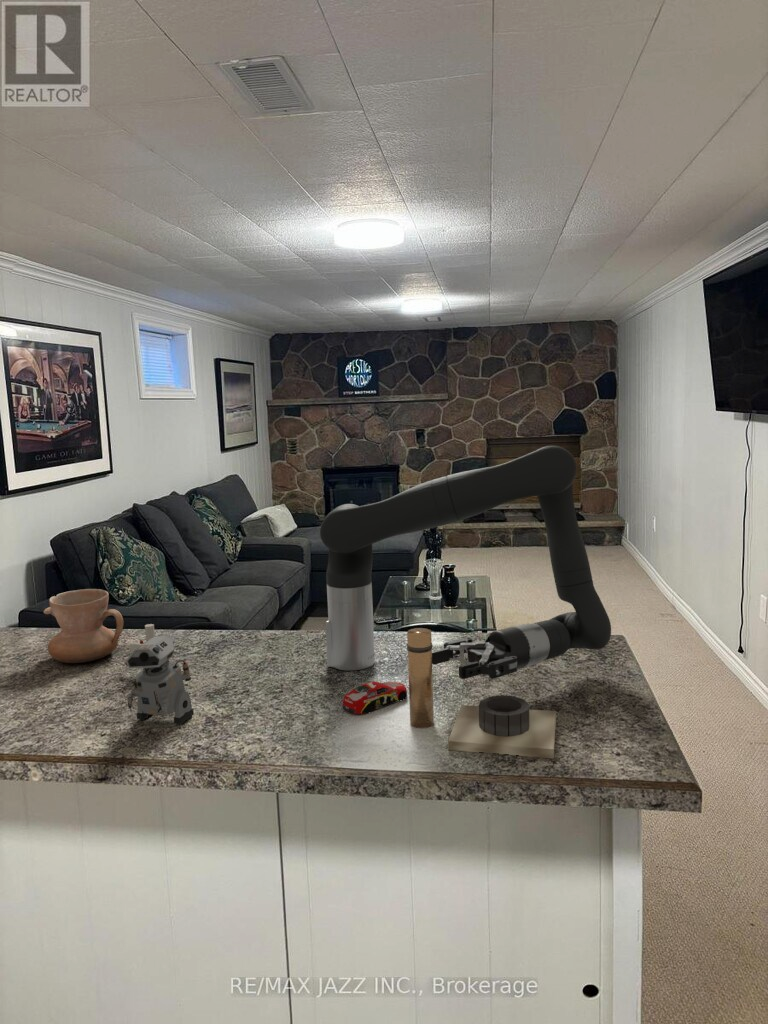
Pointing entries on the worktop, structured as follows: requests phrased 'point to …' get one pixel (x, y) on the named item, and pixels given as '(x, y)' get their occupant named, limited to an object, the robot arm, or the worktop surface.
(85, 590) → the ceramic jug
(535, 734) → the collar plate
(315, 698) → the worktop surface
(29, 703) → the worktop surface
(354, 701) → the race car
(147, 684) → the figurine
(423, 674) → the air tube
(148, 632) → the pipe connector
